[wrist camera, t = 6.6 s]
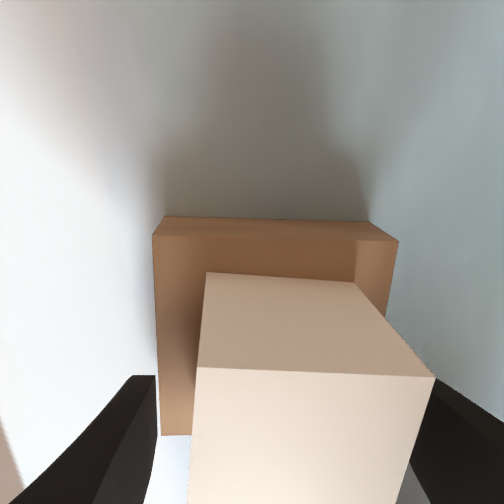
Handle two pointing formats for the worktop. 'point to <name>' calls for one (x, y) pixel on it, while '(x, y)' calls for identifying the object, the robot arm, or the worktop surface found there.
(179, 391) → the base block
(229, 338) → the cube
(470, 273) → the worktop surface
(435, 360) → the worktop surface
